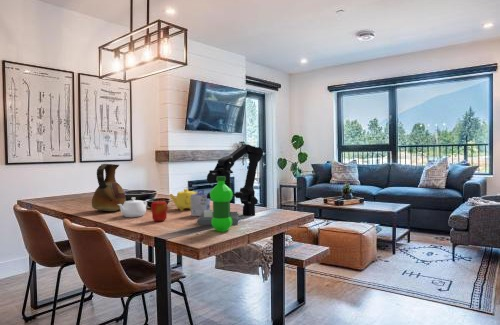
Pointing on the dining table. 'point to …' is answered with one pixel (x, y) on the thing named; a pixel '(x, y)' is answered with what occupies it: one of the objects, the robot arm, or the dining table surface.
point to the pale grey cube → (208, 213)
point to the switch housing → (207, 220)
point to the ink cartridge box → (199, 203)
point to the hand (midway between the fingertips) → (225, 211)
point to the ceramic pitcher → (108, 190)
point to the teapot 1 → (133, 208)
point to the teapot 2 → (183, 199)
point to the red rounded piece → (159, 210)
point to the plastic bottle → (221, 205)
